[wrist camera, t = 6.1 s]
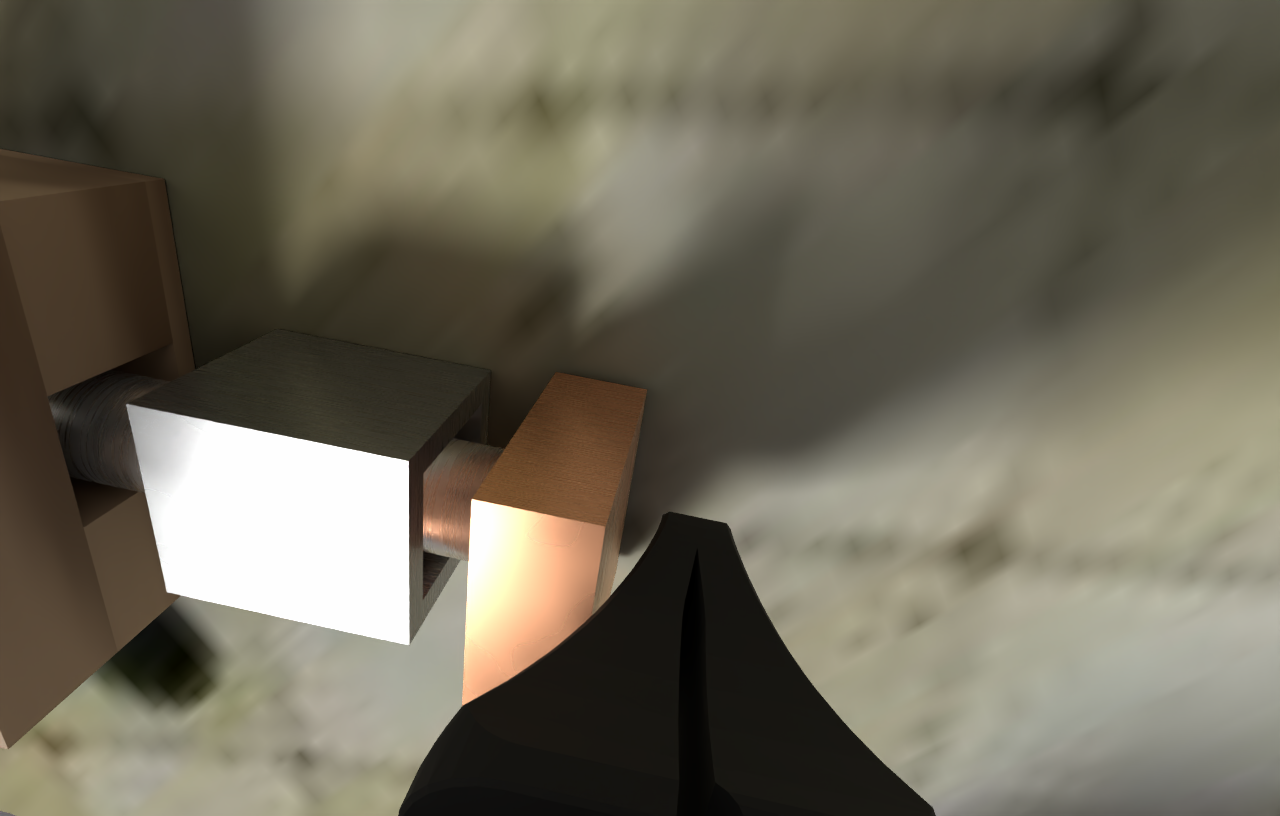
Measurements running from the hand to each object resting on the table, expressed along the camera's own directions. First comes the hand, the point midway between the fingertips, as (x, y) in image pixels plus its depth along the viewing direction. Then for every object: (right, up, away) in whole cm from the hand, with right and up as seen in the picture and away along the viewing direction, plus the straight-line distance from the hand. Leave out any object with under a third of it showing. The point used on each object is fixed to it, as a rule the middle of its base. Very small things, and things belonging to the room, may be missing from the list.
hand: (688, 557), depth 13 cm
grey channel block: (-7, +2, +3) cm, 8 cm away
